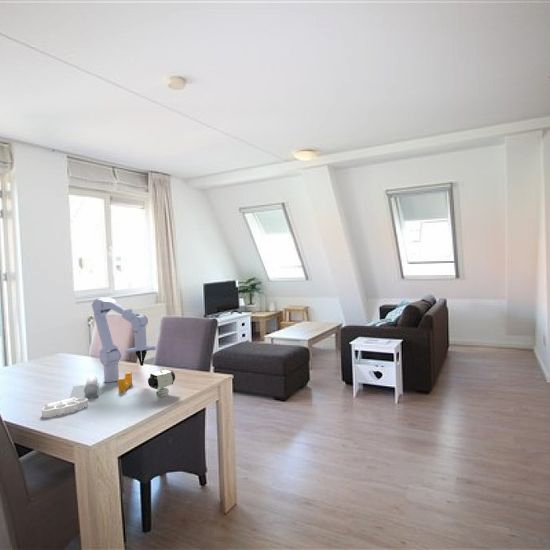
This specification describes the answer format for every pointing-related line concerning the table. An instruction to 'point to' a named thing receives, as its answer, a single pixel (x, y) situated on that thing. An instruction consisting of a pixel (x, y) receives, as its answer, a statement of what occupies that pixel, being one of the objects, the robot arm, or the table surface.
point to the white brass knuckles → (64, 406)
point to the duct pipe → (86, 389)
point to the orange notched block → (125, 382)
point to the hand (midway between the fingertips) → (141, 365)
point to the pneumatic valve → (161, 381)
